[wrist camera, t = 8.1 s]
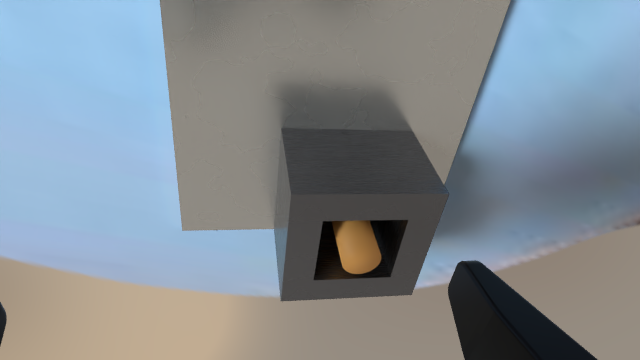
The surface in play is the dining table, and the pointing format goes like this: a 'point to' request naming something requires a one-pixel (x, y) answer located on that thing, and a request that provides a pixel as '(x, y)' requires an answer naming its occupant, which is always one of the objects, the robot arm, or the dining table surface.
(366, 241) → the post
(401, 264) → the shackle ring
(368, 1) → the tie plate
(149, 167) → the dining table surface
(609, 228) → the dining table surface
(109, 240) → the dining table surface
